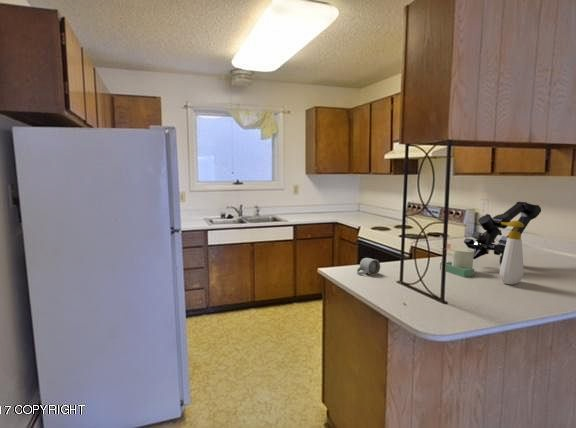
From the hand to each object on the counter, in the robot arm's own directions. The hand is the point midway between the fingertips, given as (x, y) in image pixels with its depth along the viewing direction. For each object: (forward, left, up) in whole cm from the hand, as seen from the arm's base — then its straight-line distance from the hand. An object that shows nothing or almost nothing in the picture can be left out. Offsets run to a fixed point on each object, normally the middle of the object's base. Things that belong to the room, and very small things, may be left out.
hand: (473, 258), depth 183 cm
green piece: (+8, +8, -6) cm, 13 cm away
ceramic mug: (+48, +30, -7) cm, 57 cm away
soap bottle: (-14, +15, -6) cm, 22 cm away
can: (+5, +5, -6) cm, 9 cm away
